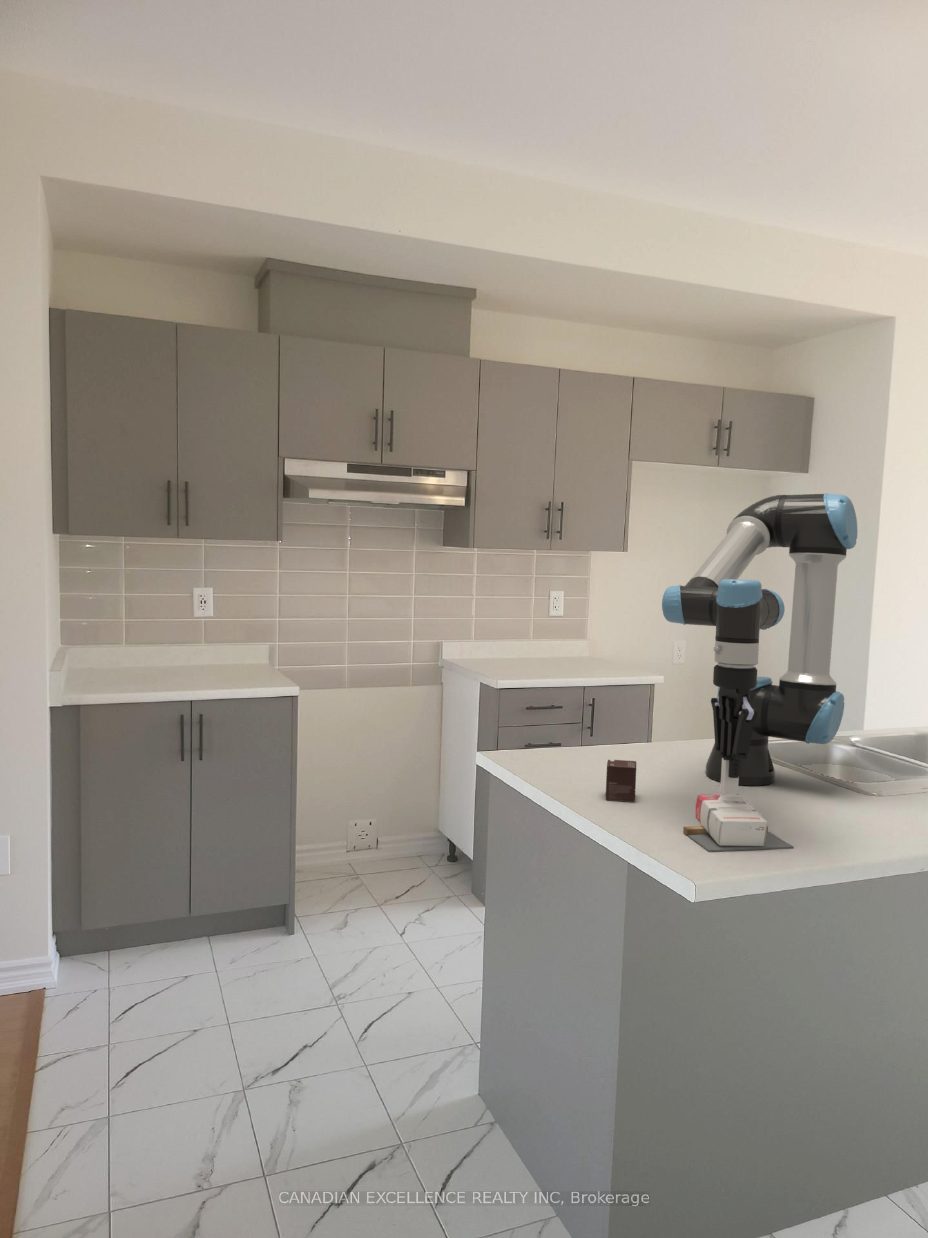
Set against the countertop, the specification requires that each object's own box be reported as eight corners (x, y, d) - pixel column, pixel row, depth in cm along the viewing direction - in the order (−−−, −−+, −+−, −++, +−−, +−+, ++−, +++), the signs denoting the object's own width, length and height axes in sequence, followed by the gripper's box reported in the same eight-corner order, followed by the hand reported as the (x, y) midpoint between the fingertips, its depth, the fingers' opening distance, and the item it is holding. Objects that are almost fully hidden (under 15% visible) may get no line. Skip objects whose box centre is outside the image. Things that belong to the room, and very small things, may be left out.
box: (635, 803, 177) (636, 767, 176) (605, 800, 178) (606, 765, 178) (635, 795, 183) (636, 760, 182) (606, 792, 184) (607, 758, 184)
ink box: (693, 818, 162) (717, 847, 150) (696, 793, 161) (720, 820, 149) (738, 819, 162) (765, 848, 151) (742, 794, 161) (768, 821, 150)
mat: (769, 833, 159) (769, 832, 159) (793, 848, 151) (793, 846, 151) (688, 836, 156) (688, 835, 156) (708, 852, 148) (708, 850, 148)
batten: (763, 830, 161) (763, 823, 161) (767, 832, 160) (768, 826, 160) (683, 833, 158) (683, 826, 158) (686, 835, 157) (687, 829, 157)
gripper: (699, 660, 162) (693, 784, 164) (734, 670, 149) (727, 804, 151) (736, 660, 163) (730, 784, 165) (774, 670, 150) (766, 803, 152)
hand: (728, 793), depth 158 cm, fingers closed
